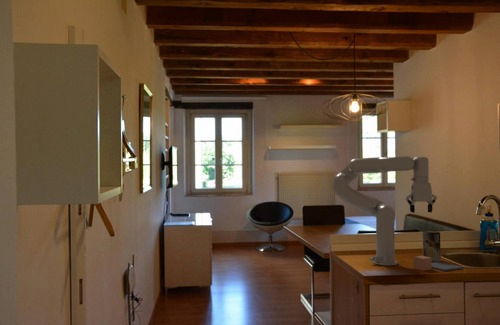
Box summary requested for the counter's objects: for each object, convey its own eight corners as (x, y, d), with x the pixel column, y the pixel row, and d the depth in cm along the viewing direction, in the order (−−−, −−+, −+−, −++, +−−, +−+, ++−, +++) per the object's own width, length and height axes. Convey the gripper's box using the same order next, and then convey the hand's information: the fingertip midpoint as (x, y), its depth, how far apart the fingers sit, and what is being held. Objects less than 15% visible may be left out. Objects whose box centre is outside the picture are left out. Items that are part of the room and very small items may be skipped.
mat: (444, 271, 217) (444, 269, 217) (422, 265, 230) (422, 264, 230) (463, 268, 224) (463, 266, 224) (440, 263, 236) (440, 261, 236)
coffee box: (440, 260, 246) (439, 231, 246) (440, 262, 240) (440, 232, 240) (422, 258, 249) (422, 230, 249) (422, 261, 243) (422, 232, 243)
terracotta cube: (422, 270, 219) (422, 258, 220) (413, 268, 225) (413, 256, 225) (431, 269, 222) (431, 257, 222) (422, 267, 227) (422, 255, 228)
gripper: (408, 180, 228) (409, 213, 228) (440, 180, 230) (440, 212, 230) (402, 180, 235) (402, 211, 235) (432, 180, 237) (432, 211, 237)
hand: (421, 212), depth 232 cm, fingers open, 9 cm apart
